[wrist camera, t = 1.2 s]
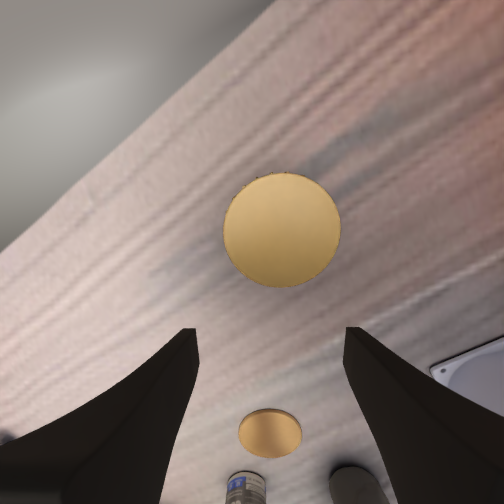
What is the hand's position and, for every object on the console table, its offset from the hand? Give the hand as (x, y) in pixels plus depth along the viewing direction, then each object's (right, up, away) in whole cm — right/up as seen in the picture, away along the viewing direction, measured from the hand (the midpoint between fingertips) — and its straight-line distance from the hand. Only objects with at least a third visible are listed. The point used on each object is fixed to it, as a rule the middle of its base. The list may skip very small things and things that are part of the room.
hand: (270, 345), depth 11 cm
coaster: (+1, -16, +15) cm, 22 cm away
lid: (+1, +5, +1) cm, 6 cm away
